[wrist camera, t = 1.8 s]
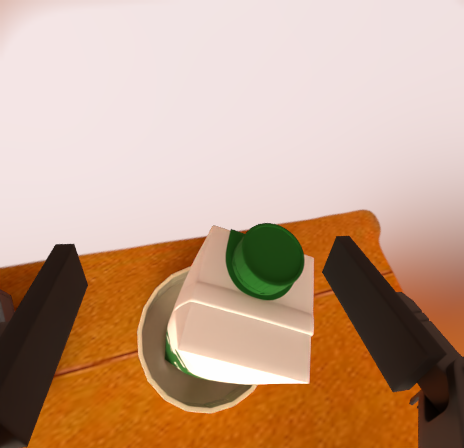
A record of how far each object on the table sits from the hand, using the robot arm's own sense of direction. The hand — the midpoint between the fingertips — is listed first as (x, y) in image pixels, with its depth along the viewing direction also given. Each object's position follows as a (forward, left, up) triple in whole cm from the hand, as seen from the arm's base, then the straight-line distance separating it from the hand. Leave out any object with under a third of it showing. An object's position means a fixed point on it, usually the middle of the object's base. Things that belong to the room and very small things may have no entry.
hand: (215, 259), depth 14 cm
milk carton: (+3, +2, -20) cm, 21 cm away
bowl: (+3, +2, -21) cm, 21 cm away
